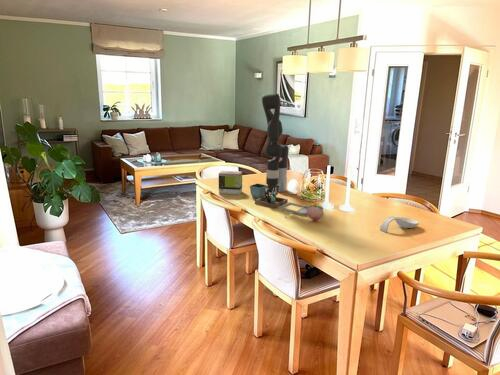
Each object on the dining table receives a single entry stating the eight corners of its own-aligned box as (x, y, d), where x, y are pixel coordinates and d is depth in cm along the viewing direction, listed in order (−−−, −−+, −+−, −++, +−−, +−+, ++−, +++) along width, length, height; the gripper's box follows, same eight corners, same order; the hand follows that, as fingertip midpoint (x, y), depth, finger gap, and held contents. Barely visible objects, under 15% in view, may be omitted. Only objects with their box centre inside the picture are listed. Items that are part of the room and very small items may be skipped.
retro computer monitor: (242, 191, 262) (242, 171, 259) (239, 195, 253) (239, 174, 249) (221, 190, 265) (221, 169, 261) (218, 193, 255) (218, 172, 252)
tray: (289, 204, 234) (289, 202, 233) (315, 210, 224) (315, 207, 223) (277, 210, 223) (277, 207, 222) (304, 216, 213) (304, 213, 212)
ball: (270, 201, 237) (270, 194, 235) (276, 203, 234) (277, 195, 232) (265, 203, 233) (266, 195, 231) (272, 205, 230) (272, 197, 229)
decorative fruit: (323, 219, 208) (325, 202, 206) (322, 224, 201) (323, 206, 198) (307, 217, 211) (308, 200, 208) (305, 222, 203) (306, 204, 201)
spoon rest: (404, 222, 208) (405, 209, 206) (422, 228, 198) (424, 216, 197) (374, 228, 197) (376, 215, 195) (392, 236, 187) (394, 222, 185)
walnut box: (267, 199, 243) (268, 195, 243) (287, 204, 235) (287, 199, 234) (254, 205, 232) (254, 200, 231) (275, 209, 223) (275, 204, 222)
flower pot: (259, 201, 240) (260, 187, 238) (249, 198, 245) (249, 185, 243) (267, 198, 247) (268, 185, 245) (257, 196, 252) (257, 183, 250)
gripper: (273, 173, 237) (272, 199, 241) (260, 177, 225) (260, 204, 229) (283, 175, 232) (282, 201, 237) (271, 179, 221) (270, 206, 225)
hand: (271, 202), depth 233 cm, fingers closed on ball, 5 cm apart
